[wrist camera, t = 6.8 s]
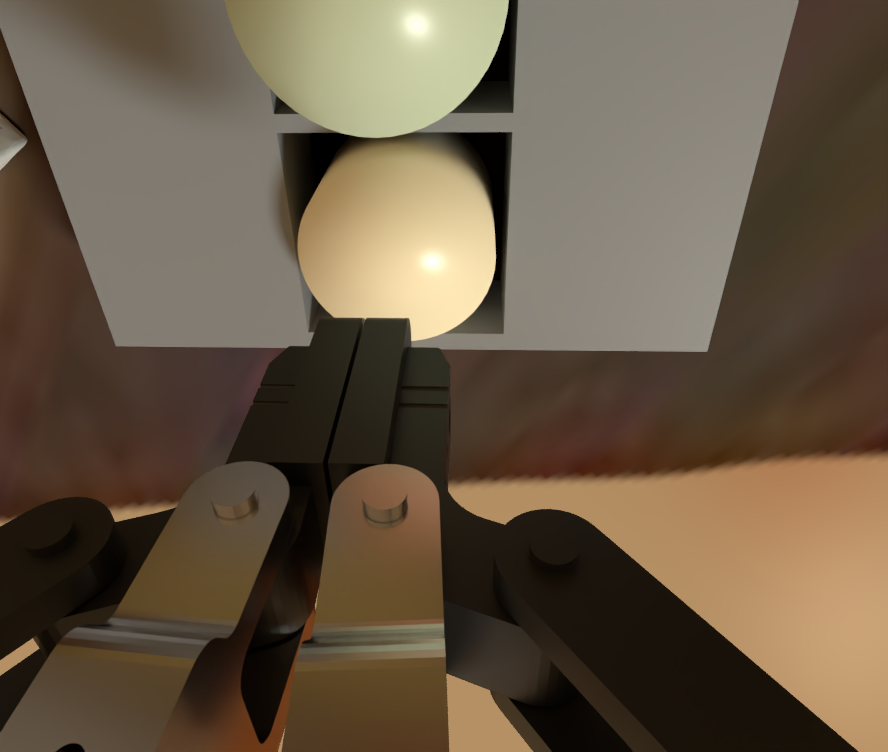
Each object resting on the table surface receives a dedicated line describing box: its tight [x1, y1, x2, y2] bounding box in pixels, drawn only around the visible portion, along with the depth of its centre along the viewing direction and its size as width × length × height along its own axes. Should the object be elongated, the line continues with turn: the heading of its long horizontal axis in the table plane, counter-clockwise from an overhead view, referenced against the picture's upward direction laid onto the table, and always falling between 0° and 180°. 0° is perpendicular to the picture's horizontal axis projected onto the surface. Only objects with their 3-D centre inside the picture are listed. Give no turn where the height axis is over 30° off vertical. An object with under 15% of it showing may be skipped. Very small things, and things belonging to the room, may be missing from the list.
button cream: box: [297, 132, 496, 341], centre depth 17 cm, size 5×5×4 cm
